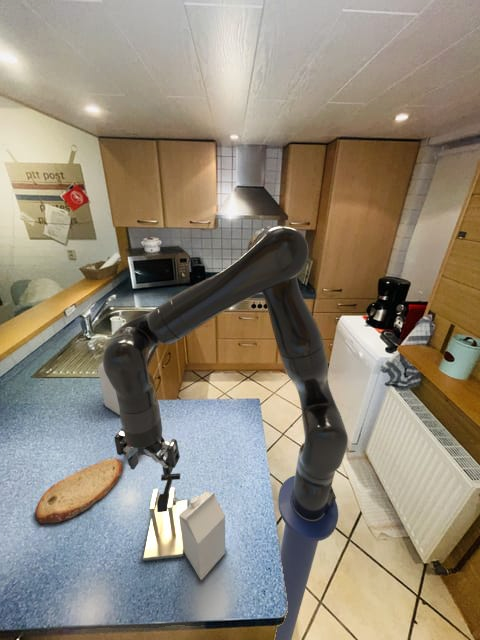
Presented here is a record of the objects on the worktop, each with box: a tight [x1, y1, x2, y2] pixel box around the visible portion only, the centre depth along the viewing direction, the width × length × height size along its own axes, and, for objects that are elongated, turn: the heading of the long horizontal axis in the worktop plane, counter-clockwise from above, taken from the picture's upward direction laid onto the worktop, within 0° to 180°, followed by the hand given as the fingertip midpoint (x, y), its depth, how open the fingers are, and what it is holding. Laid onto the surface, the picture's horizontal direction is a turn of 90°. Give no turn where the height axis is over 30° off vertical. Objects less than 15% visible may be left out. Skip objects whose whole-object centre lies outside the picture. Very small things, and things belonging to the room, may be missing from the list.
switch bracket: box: [142, 487, 189, 562], centre depth 61 cm, size 12×9×13 cm
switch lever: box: [157, 472, 181, 512], centre depth 64 cm, size 12×5×2 cm, turn 5°
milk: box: [97, 361, 120, 416], centre depth 99 cm, size 12×12×26 cm
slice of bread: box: [35, 458, 123, 524], centre depth 72 cm, size 18×18×4 cm
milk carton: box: [179, 491, 226, 581], centre depth 56 cm, size 7×7×19 cm
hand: (151, 469), depth 59 cm, fingers open, 8 cm apart
